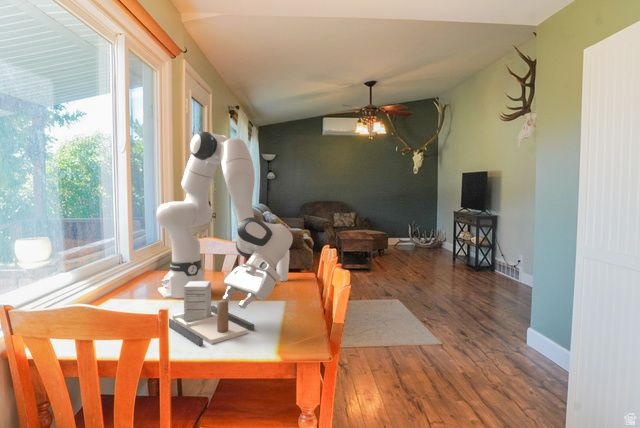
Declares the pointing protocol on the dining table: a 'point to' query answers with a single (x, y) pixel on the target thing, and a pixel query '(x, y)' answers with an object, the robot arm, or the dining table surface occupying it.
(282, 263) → the white piece
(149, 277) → the dining table surface
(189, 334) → the dark grey parallel rails
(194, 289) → the supplement box
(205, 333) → the board with brown peg
